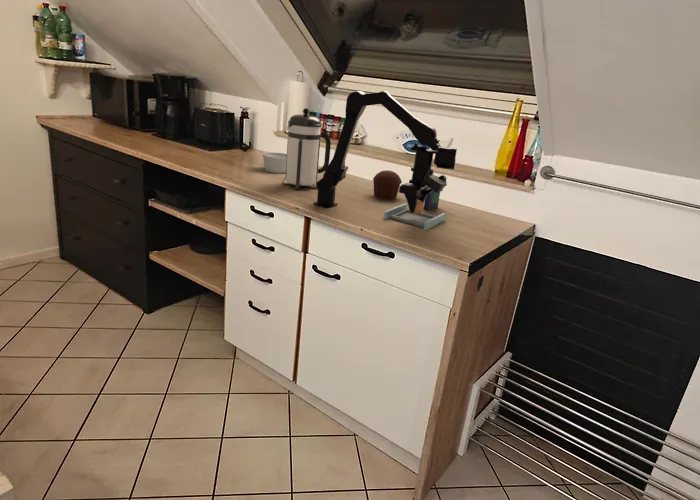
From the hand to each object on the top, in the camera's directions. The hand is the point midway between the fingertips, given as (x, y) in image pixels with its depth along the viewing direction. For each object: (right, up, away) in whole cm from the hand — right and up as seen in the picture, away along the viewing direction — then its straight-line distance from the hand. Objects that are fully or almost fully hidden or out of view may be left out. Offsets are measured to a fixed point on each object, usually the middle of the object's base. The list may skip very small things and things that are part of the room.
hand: (415, 211), depth 167 cm
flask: (+8, +2, +18) cm, 19 cm away
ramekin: (-54, +22, +52) cm, 78 cm away
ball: (0, +1, 0) cm, 2 cm away
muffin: (-8, +8, +28) cm, 30 cm away
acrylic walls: (0, -3, +1) cm, 3 cm away
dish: (0, -3, +1) cm, 3 cm away
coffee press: (-41, +12, +30) cm, 52 cm away
